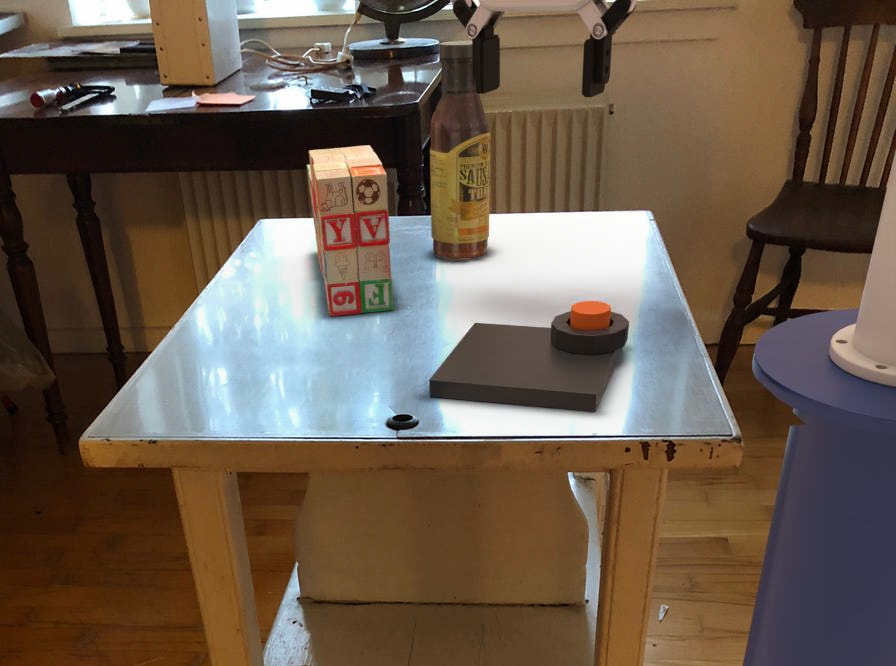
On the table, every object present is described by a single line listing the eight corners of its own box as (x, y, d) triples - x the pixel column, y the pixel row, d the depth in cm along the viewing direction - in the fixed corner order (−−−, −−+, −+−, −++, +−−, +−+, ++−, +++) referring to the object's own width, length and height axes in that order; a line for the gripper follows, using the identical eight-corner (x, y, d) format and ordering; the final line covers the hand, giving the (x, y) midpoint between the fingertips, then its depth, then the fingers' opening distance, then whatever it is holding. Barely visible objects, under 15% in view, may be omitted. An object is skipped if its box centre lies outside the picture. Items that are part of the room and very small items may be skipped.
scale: (630, 346, 83) (633, 311, 81) (602, 412, 73) (605, 373, 71) (476, 335, 86) (476, 302, 85) (429, 396, 76) (428, 359, 75)
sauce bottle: (467, 265, 103) (464, 47, 91) (420, 257, 106) (411, 45, 94) (501, 249, 107) (502, 38, 95) (455, 242, 110) (451, 37, 98)
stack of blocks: (315, 253, 109) (302, 132, 102) (371, 248, 110) (362, 127, 102) (329, 317, 92) (315, 176, 85) (395, 310, 93) (386, 170, 85)
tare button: (612, 320, 80) (614, 301, 79) (605, 334, 78) (607, 315, 77) (574, 318, 81) (575, 299, 80) (566, 331, 79) (567, 312, 78)
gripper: (677, -184, 70) (654, 88, 80) (465, -163, 77) (469, 83, 87) (639, -187, 65) (620, 104, 75) (416, -164, 72) (427, 97, 83)
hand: (539, 92), depth 81 cm, fingers open, 9 cm apart
